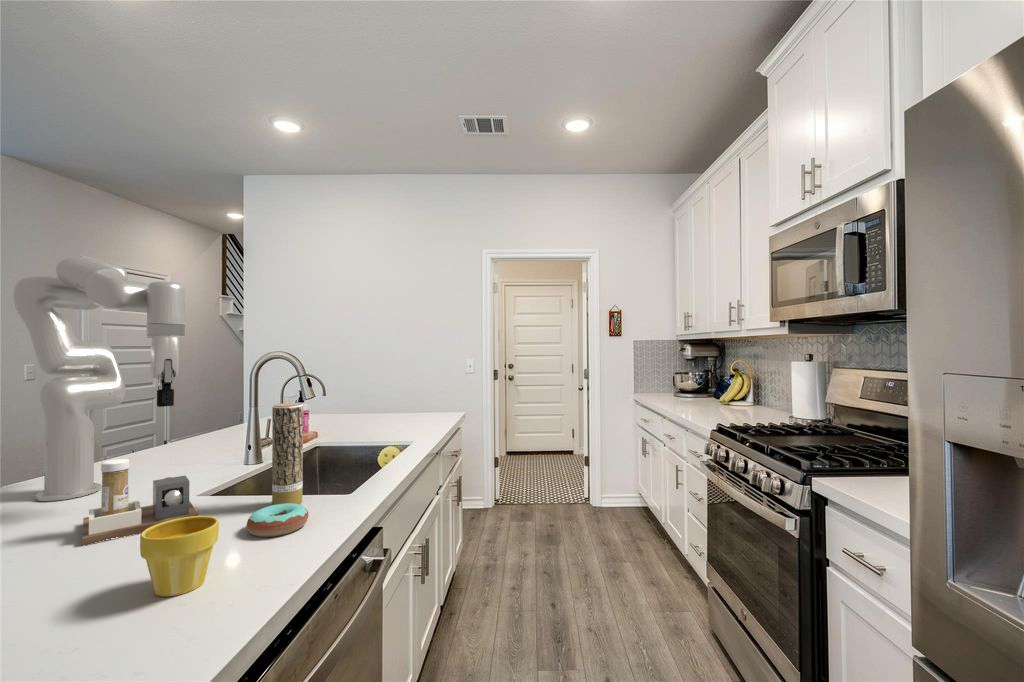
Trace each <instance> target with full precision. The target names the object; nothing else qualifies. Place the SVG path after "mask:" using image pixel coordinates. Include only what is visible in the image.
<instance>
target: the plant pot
mask: <svg viewBox="0 0 1024 682" xmlns="http://www.w3.org/2000/svg"><path fill="white" fill-rule="evenodd" d="M219 530H220V522H219V519H218V518H217V517H215V516H209V515H198V516H191V517H184V518H178V519H174V520H170V521H166V522H162V523H159V524H157V525H154V526H152V527H150V528H148V529H146V530H144V531H143V532H142V533H140V536H139V551H140V557H141V558H142V559H144V560H145V561H146V566H147V568H148V574H149V578H150V581H151V584H152V589H153V592H154V594H155V595H156V596H159V597H164V598H166V597H175V596H180V595H183V594H187V593H190V592H192V591H194V590H196V589H197V588H199V587H201V586H202V585H203V584H204V583H205V580H206V576H207V572H208V568H209V563H210V560H211V556H212V552H213V548H214V545H215V544H216V543H217V542H218V540H219V532H220V531H219Z"/></svg>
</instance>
